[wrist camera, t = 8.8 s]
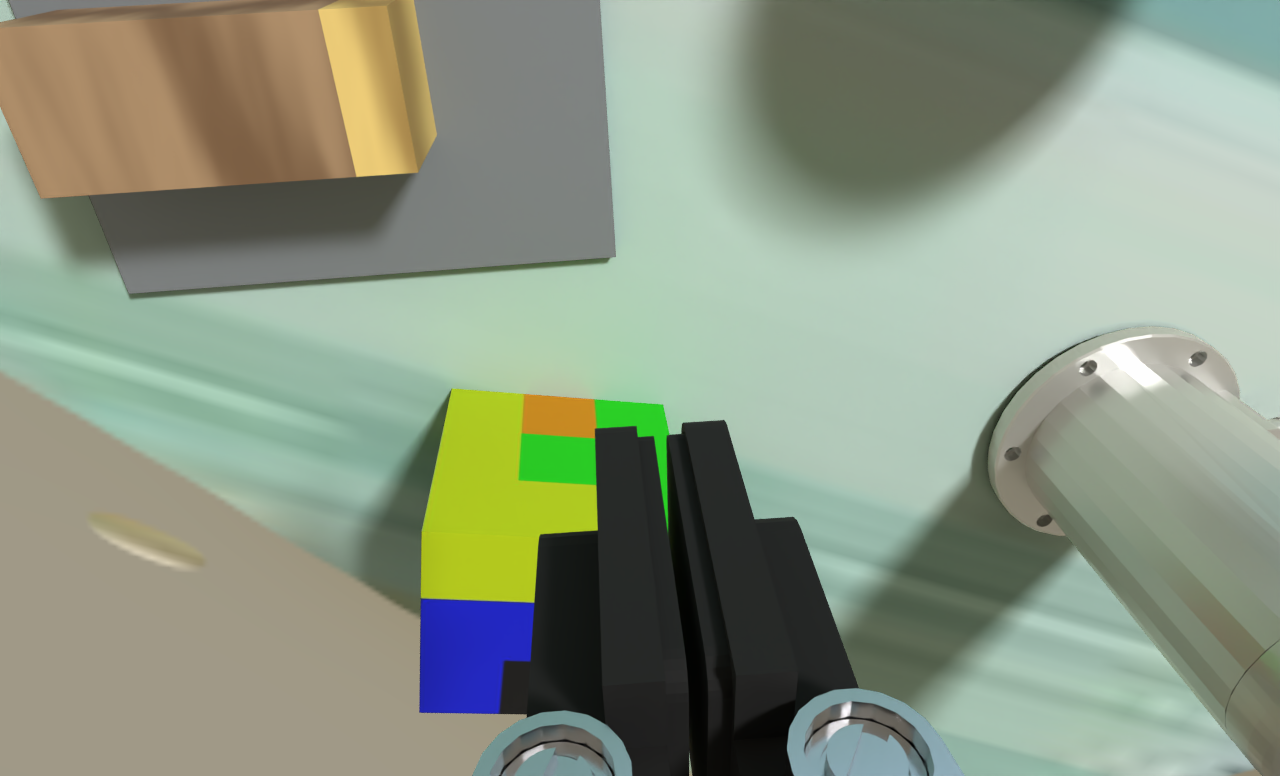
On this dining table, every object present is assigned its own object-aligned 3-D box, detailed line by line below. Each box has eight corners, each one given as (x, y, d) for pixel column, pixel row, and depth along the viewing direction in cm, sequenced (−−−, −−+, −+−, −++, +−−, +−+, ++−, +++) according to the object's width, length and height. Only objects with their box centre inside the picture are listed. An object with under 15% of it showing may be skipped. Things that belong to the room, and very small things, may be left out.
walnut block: (386, 5, 24) (-34, 29, 23) (418, 172, 26) (40, 198, 26) (411, -11, 28) (57, 10, 27) (437, 135, 31) (113, 156, 30)
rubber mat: (585, -211, 26) (586, -213, 26) (614, 251, 34) (615, 257, 34) (-55, -184, 25) (-68, -186, 24) (135, 287, 33) (128, 293, 33)
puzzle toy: (446, 549, 42) (419, 712, 34) (452, 388, 37) (421, 531, 29) (633, 558, 44) (652, 716, 35) (662, 404, 39) (693, 544, 30)
